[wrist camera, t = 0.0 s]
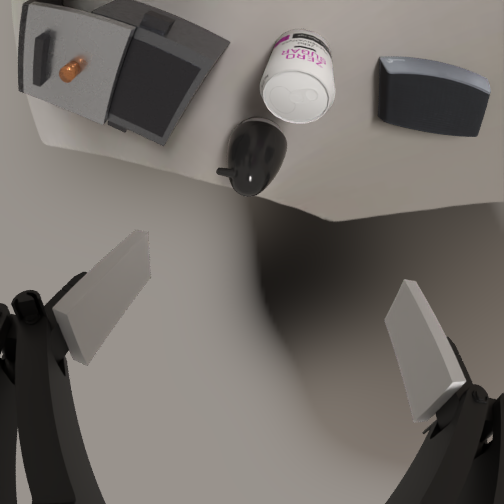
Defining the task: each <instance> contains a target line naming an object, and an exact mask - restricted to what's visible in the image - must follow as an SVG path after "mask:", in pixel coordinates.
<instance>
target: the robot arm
mask: <svg viewBox="0 0 504 504" xmlns="http://www.w3.org/2000/svg"><path fill="white" fill-rule="evenodd" d="M150 278H151V272H150V256H149V233H148V232H145V231H140V230H135V231H133V232H132V233H131V234H130V235H129V236H128V237H126V238H125V239H124V240H123V241H122V242H121V243H120V244H119V245H117V246H116V247H115V248H114V249H113V250H112V251H111V252H109V253H108V254H107V255H106V256H105V257H104V258H103V259H102V260H101V261H100V262H98V263H97V264H96V265H95V266H94V267H93V268H92V269H91V270H90V271H89V272H88V273H87V272H82V273H80V274H78V275H76V276H74V277H73V278H72V279H71V280H70V281H69V282H68V283H67V285H65V286H64V287H63V288H62V290H60V291H59V292H58V293H57V294H56V295H55V296H54V297H53V298H52V299H51V300H50V301H49V302H48V303H47V304H46V305H45V306H44V305H43V303H42V300H41V297H40V294H39V293H38V292H37V291H34V290H27V291H23V292H21V293H19V294H18V295H17V296H16V297H15V298H14V299H13V301H12V303H11V305H12V307H13V309H14V312H15V314H16V315H14V314H10V312H9V310H8V307H7V306H6V305H5V304H2V303H0V354H1V351H2V353H3V356H2V358H0V504H17V497H16V475H15V474H16V473H15V472H16V469H15V468H16V466H15V465H16V441H17V429H18V432H19V439H20V446H21V452H22V457H23V463H24V468H25V472H26V476H27V481H28V484H29V488H30V492H31V495H32V504H106V503H105V501H104V499H103V497H102V494H101V492H100V489H99V487H98V484H97V482H96V479H95V476H94V474H93V471H92V468H91V465H90V462H89V459H88V456H87V453H86V450H85V447H84V443H83V439H82V436H81V432H80V428H79V425H78V420H77V416H76V411H75V407H74V402H73V397H72V391H71V386H70V380H69V373H68V366H67V360H66V357H65V355H66V353H67V352H68V351H70V353H71V356H72V358H73V359H74V360H76V361H78V362H80V363H82V364H84V365H87V366H88V364H89V363H90V361H91V360H92V358H93V357H94V355H95V354H96V352H97V351H98V350H99V348H100V347H101V345H102V344H103V342H104V341H105V339H106V338H107V336H108V335H109V334H110V332H111V330H112V329H113V328H114V327H115V325H116V324H117V322H118V321H119V319H120V318H121V317H122V315H123V314H124V313H125V311H126V310H127V309H128V307H129V306H130V304H131V303H132V302H133V300H134V299H135V298H136V296H137V295H138V294H139V292H140V291H141V290H142V289H143V287H144V286H145V285H146V283H147V282H148V281H149V279H150ZM384 321H385V324H386V326H387V329H388V332H389V335H390V338H391V341H392V345H393V348H394V351H395V354H396V358H397V361H398V364H399V368H400V371H401V375H402V379H403V382H404V386H405V390H406V393H407V397H408V401H409V406H410V410H411V414H412V419H413V422H423V421H428V420H429V419H430V418H431V417H432V416H433V415H434V414H435V413H436V417H437V420H436V421H435V422H433V423H432V424H431V425H430V426H429V427H428V428H427V429H425V430H424V432H423V434H425V433H426V432H427V431H429V432H428V435H427V436H426V438H425V440H424V442H423V444H422V446H421V448H420V450H419V452H418V454H417V455H416V457H415V459H414V461H413V462H412V464H411V466H410V467H409V469H408V471H407V472H406V474H405V475H404V477H403V479H402V480H401V482H400V484H399V485H398V486H397V488H396V489H395V491H394V492H393V494H392V495H391V496H390V498H389V499H388V501H387V502H386V503H385V504H504V393H502V394H501V395H500V396H499V398H498V399H497V400H496V399H492V398H489V397H488V394H487V392H486V391H485V390H484V389H483V388H482V387H481V386H479V385H476V384H472V381H471V379H470V376H469V374H468V372H467V370H466V367H465V365H464V363H463V361H462V358H461V356H460V355H459V352H458V350H457V348H456V346H455V344H454V343H453V342H452V341H451V340H450V338H449V337H446V336H445V334H444V332H443V330H442V328H441V326H440V324H439V322H438V320H437V318H436V316H435V314H434V313H433V311H432V309H431V307H430V305H429V304H428V302H427V300H426V298H425V296H424V295H423V293H422V291H421V290H420V288H419V286H418V285H417V283H416V281H410V280H405V279H404V281H403V283H402V285H401V287H400V289H399V291H398V294H397V296H396V298H395V300H394V302H393V304H392V306H391V308H390V310H389V312H388V314H387V316H386V318H385V320H384ZM492 434H493V440H492V441H491V442H489V443H488V444H487V438H489V437H490V436H491V435H492Z"/></svg>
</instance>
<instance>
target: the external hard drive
mask: <svg viewBox="0 0 504 504" xmlns="http://www.w3.org/2000/svg"><path fill="white" fill-rule="evenodd" d="M379 60H380V61H379V63H380V69H379V70H380V73H379V74H380V75H379V76H380V77H379V107H378V117H379V118H380V119H381V120H383V121H384V122H387V123H390V124H393V125H397V126H401V127H405V128H410V129H414V130H419V131H424V132H430V133H436V134H443V135H452V136H466V137H476V136H478V133H479V130H480V127H481V123H482V120H483V117H484V114H485V110H486V107H487V103H488V99H489V95H490V92H491V91H490V85H489V82H488V79H487V78H485V77H483V76H481V75H479V74H476V73H474V72H471V71H469V70H466V69H463V68H460V67H457V66H454V65H450V64H446V63H443V62H438V61H432V60H427V59H420V58H410V57H380V59H379Z"/></svg>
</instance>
